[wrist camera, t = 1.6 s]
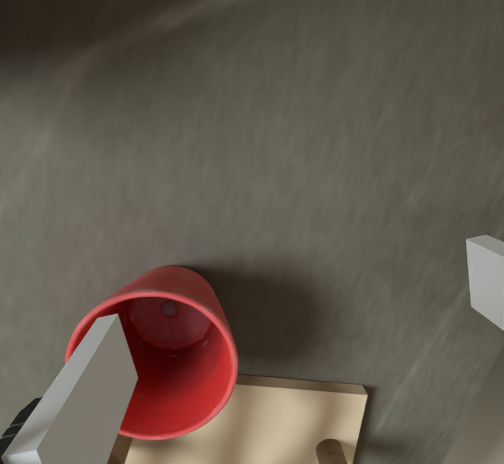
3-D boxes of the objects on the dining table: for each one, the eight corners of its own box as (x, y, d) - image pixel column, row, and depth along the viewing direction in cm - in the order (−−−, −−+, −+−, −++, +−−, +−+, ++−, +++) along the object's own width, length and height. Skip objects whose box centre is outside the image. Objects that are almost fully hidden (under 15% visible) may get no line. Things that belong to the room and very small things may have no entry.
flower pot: (113, 238, 34) (67, 281, 24) (245, 257, 35) (250, 304, 25) (103, 354, 36) (58, 432, 27) (226, 368, 37) (225, 449, 28)
